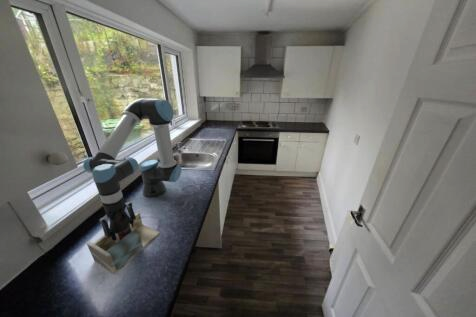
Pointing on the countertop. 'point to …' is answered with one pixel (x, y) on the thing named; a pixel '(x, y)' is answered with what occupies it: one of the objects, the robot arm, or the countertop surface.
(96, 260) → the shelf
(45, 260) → the countertop surface
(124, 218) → the deodorant
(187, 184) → the countertop surface
